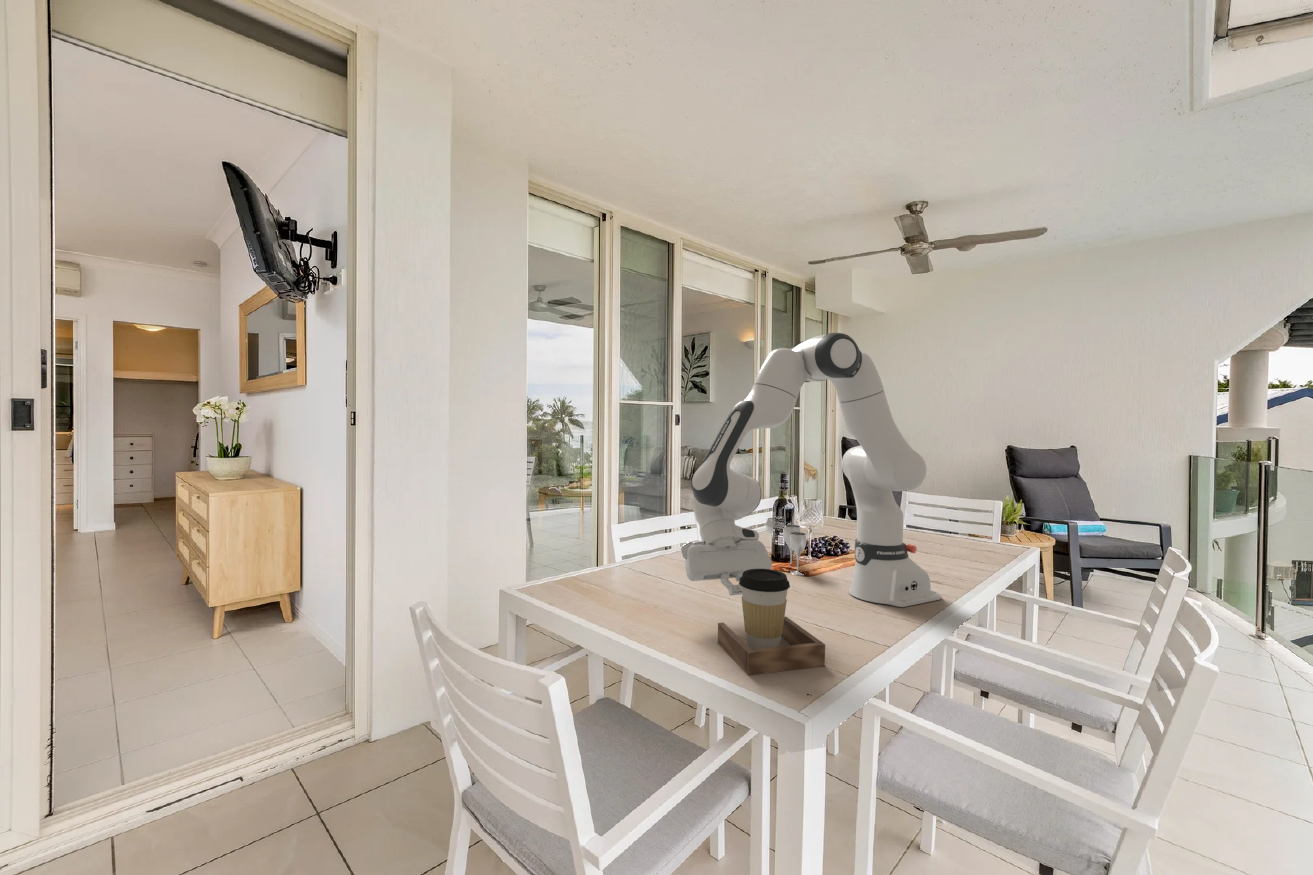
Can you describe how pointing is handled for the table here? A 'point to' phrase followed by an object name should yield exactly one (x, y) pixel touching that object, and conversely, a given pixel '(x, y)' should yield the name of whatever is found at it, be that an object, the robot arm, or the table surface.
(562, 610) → the table surface
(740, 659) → the walnut caddy
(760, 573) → the coffee cup
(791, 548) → the goblet set
